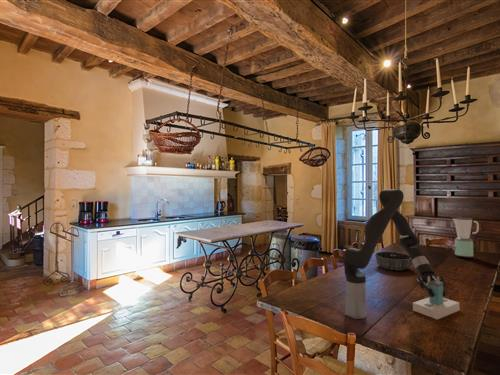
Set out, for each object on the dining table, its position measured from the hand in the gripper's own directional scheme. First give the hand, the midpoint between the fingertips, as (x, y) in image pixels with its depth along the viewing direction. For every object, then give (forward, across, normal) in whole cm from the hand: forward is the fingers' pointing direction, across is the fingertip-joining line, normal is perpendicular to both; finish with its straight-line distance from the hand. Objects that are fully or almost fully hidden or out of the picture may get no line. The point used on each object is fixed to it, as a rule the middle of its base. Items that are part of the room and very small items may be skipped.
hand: (438, 296), depth 149 cm
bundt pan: (-50, +24, +62) cm, 83 cm away
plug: (+4, 0, +6) cm, 8 cm away
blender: (-65, +103, +77) cm, 144 cm away
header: (+4, 0, +7) cm, 8 cm away
